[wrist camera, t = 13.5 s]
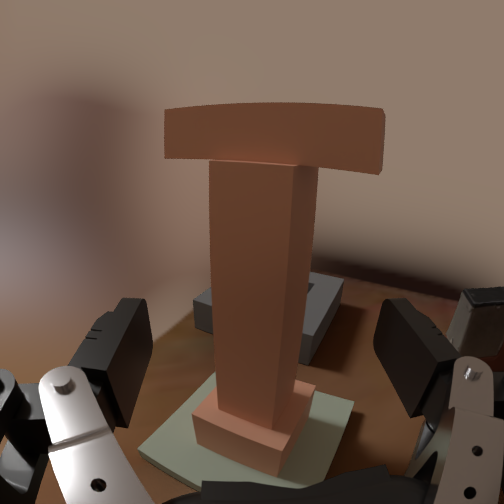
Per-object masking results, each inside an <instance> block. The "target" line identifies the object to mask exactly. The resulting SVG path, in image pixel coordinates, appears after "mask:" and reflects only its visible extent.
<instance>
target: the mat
mask: <svg viewBox="0 0 504 504" xmlns="http://www.w3.org/2000/svg"><path fill="white" fill-rule="evenodd" d="M215 387H216V372H214V373H213V374H212V375H211V376H210V377H209V378H208V379H207V380H206V381H205V382H204V384H203V385H202V386H201V387H200V388H199V389H198V390H197V391H196V392H195V393H194V394H193V395H192V396H191V397H190V398H189V399H188V400H187V401H186V402H185V403H184V404H183V405H182V406H181V407H180V408H179V409H178V410H177V411H176V412H175V413H174V414H173V415H172V416H171V417H170V418H169V419H168V420H167V421H166V422H165V423H164V424H163V425H162V426H160V427H159V428H158V429H157V430H156V431H155V432H154V433H153V434H152V435H151V436H150V437H149V438H148V439H147V440H146V441H145V442H144V443H143V444H142V445H141V446H140V447H138V448H137V449H138V451H139V453H140V455H141V457H142V458H144V459H145V460H147V461H148V462H150V463H151V464H153V465H154V466H156V467H157V468H159V469H161V470H162V471H164V472H165V473H167V474H169V475H170V476H172V477H174V478H175V479H177V480H179V481H180V482H182V483H184V484H186V485H188V486H189V487H191V488H193V489H195V490H197V491H199V492H200V491H201V484H202V480H204V481H236V482H243V481H250V482H255V483H261V484H267V485H274V486H280V487H288V488H298V489H299V488H305V487H308V486H311V485H314V484H316V483H319V482H322V481H324V479H325V476H326V474H327V472H328V469H329V467H330V465H331V462H332V460H333V458H334V455H335V453H336V450H337V448H338V445H339V443H340V440H341V438H342V435H343V432H344V430H345V427H346V424H347V422H348V419H349V416H350V413H351V410H352V407H353V405H354V401H350V400H346V399H343V398H339V397H335V396H332V395H328V394H325V393H321V392H318V391H315V392H314V396H313V401H312V405H311V409H310V413H309V417H308V419H307V421H306V423H305V425H304V427H303V429H302V431H301V433H300V435H299V437H298V439H297V441H296V443H295V445H294V447H293V449H292V451H291V453H290V455H289V457H288V458H287V460H286V462H285V464H284V466H283V468H282V469H281V471H280V473H279V475H278V476H277V478H276V477H274V476H271V475H268V474H265V473H263V472H260V471H258V470H255V469H252V468H250V467H247V466H245V465H243V464H240V463H238V462H235V461H233V460H231V459H229V458H226V457H224V456H222V455H220V454H217V453H215V452H213V451H211V450H209V449H207V448H205V447H203V446H201V445H199V444H197V441H196V436H195V431H194V425H193V420H192V414H191V413H192V412H193V411H194V410H195V409H196V408H197V407H198V406H199V405H200V404H201V402H202V401H203V400H204V399H205V398H206V397H207V396H208V395H209V394H210V392H211V391H212V390H213V389H214V388H215Z"/></svg>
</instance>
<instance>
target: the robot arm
mask: <svg viewBox="0 0 504 504" xmlns="http://www.w3.org/2000/svg"><path fill="white" fill-rule="evenodd" d="M373 345H374V350H375V353H376V355H377V357H378V359H379V360H380V362H381V364H382V366H383V368H384V369H385V371H386V373H387V375H388V377H389V379H390V381H391V382H392V384H393V386H394V388H395V390H396V392H397V394H398V396H399V398H400V400H401V401H402V403H403V405H404V407H405V409H406V411H407V413H408V415H409V417H410V418H413V417H417V416H421V415H424V417H425V420H424V422H423V423H422V426H421V429H420V432H419V436H418V439H417V442H416V445H415V448H414V452H413V455H412V457H411V460H410V463H409V466H408V468H407V470H406V472H405V474H404V476H399V475H389V473H388V470H387V467H386V465H385V464H384V465H380V466H376V467H371V468H366V469H361V470H356V471H351V472H345V473H343V474H340V475H338V476H335V477H333V478H330V479H327V480H325V481H322V482H319V483H316V484H314V485H311V486H308V487H305V488H299V489H298V488H288V487H280V486H274V485H267V484H261V483H255V482H250V481H243V482H236V481H204V480H202V484H201V491H200V492H194V493H189V494H185V495H182V496H179V497H176V498H173V499H171V500H168V501H166V502H164V503H162V504H498V499H499V492H500V486H501V488H502V490H503V493H504V372H492V370H491V369H490V367H489V366H488V365H487V364H486V363H485V362H483V361H482V360H480V359H478V358H475V357H470V356H464V357H462V356H461V355H460V353H459V352H458V351H457V350H456V349H455V347H454V346H453V345H452V344H451V343H450V341H449V340H448V339H447V338H446V337H445V336H444V335H442V332H441V331H440V330H439V329H438V328H436V325H435V324H434V323H433V322H432V321H431V319H430V318H429V317H427V316H425V315H424V314H422V313H421V312H419V311H417V310H416V309H415V308H414V306H413V305H412V304H411V303H410V302H409V301H408V300H407V299H406V298H393V299H385V300H384V301H383V303H382V307H381V311H380V315H379V319H378V322H377V326H376V330H375V334H374V339H373ZM152 348H153V340H152V333H151V328H150V321H149V315H148V308H147V303H146V301H145V299H139V298H122V299H121V300H120V302H119V304H118V305H117V307H116V308H115V310H114V312H109V311H108V312H106V313H105V314H104V315H102V316H101V317H100V318H98V319H97V320H96V322H95V323H94V325H93V326H92V328H91V331H89V332H88V334H87V335H86V339H84V340H83V342H82V343H81V345H80V346H79V348H78V350H77V351H76V353H75V354H74V356H73V358H72V359H71V361H70V363H69V364H68V366H61V367H57V368H54V369H52V370H50V371H49V372H47V373H46V374H45V375H44V376H43V377H42V379H41V381H40V383H34V384H18V383H17V381H16V380H15V378H14V376H13V374H12V373H11V372H10V371H8V370H5V369H0V443H1V441H2V439H3V437H4V435H5V436H6V438H7V439H8V441H7V443H6V446H5V448H4V450H3V452H2V454H1V457H0V504H35V501H36V498H37V494H38V491H39V488H40V484H41V481H42V478H43V475H44V472H45V469H46V466H47V463H48V460H49V457H50V459H51V462H52V465H53V468H54V471H55V474H56V477H57V480H58V482H59V485H60V488H61V490H62V493H63V495H64V498H65V500H66V503H67V504H154V502H153V501H152V499H151V498H150V496H149V495H148V493H147V492H146V490H145V489H144V487H143V485H142V484H141V482H140V481H139V479H138V478H137V476H136V474H135V473H134V471H133V469H132V468H131V466H130V464H129V463H128V461H127V459H126V457H125V456H124V454H123V452H122V450H121V448H120V447H119V445H118V443H117V441H116V439H115V437H114V435H113V432H114V429H115V426H116V427H122V428H128V426H129V423H130V420H131V417H132V413H133V410H134V407H135V404H136V400H137V397H138V394H139V391H140V388H141V385H142V382H143V379H144V376H145V373H146V370H147V367H148V364H149V361H150V358H151V355H152Z"/></svg>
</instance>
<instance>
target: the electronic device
mask: <svg viewBox="0 0 504 504" xmlns="http://www.w3.org/2000/svg"><path fill="white" fill-rule="evenodd" d="M445 337H446V338H447V339H448V340H449V341H450V343H451V344H452V345H453V346H454V347H455V349H456V350H457V351H458V352H459V353H460V355H461V356H462V357H464V356H470V357H475V358H478V359H480V360H482V361H483V362H485V363H486V364H487V365H488V366H489V367H490V369H491V370H492V372H504V287H494V288H478V289H474V288H472V289H464V290H463V292H462V293H461V298H460V300H459V302H458V306H457V309H456V311H455V314H454V317H453V319H452V321H451V324H450V327H449V329H448V331H447V333H446V334H445Z"/></svg>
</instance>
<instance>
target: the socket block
mask: <svg viewBox="0 0 504 504" xmlns="http://www.w3.org/2000/svg"><path fill="white" fill-rule="evenodd" d="M343 284H344V279H341V278H336V277H331V276H327V275H322V274H317V273H313V272H310V274H309V283H308V292H307V300H306V309H305V316H304V324H303V332H302V339H301V346H300V353H299V360H298V363H302V364H305V365H309V363H310V361H311V359H312V357H313V356H314V354H315V352H316V350H317V348H318V346H319V344H320V343H321V341H322V339H323V337H324V335H325V333H326V331H327V329H328V327H329V325H330V323H331V321H332V319H333V317H334V315H335V313H336V311H337V309H338V307H339V305H340V301H341V296H342V290H343ZM193 307H194V320H195V328H198V329H201V330H203V331H206V332H209V333H211V334H213V318H212V294H211V287H210V288H209V289H207V290H206V291H205V292H203V293H202V294H200V295H199V296H198V297H196V298H195V299H194V300H193Z"/></svg>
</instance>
